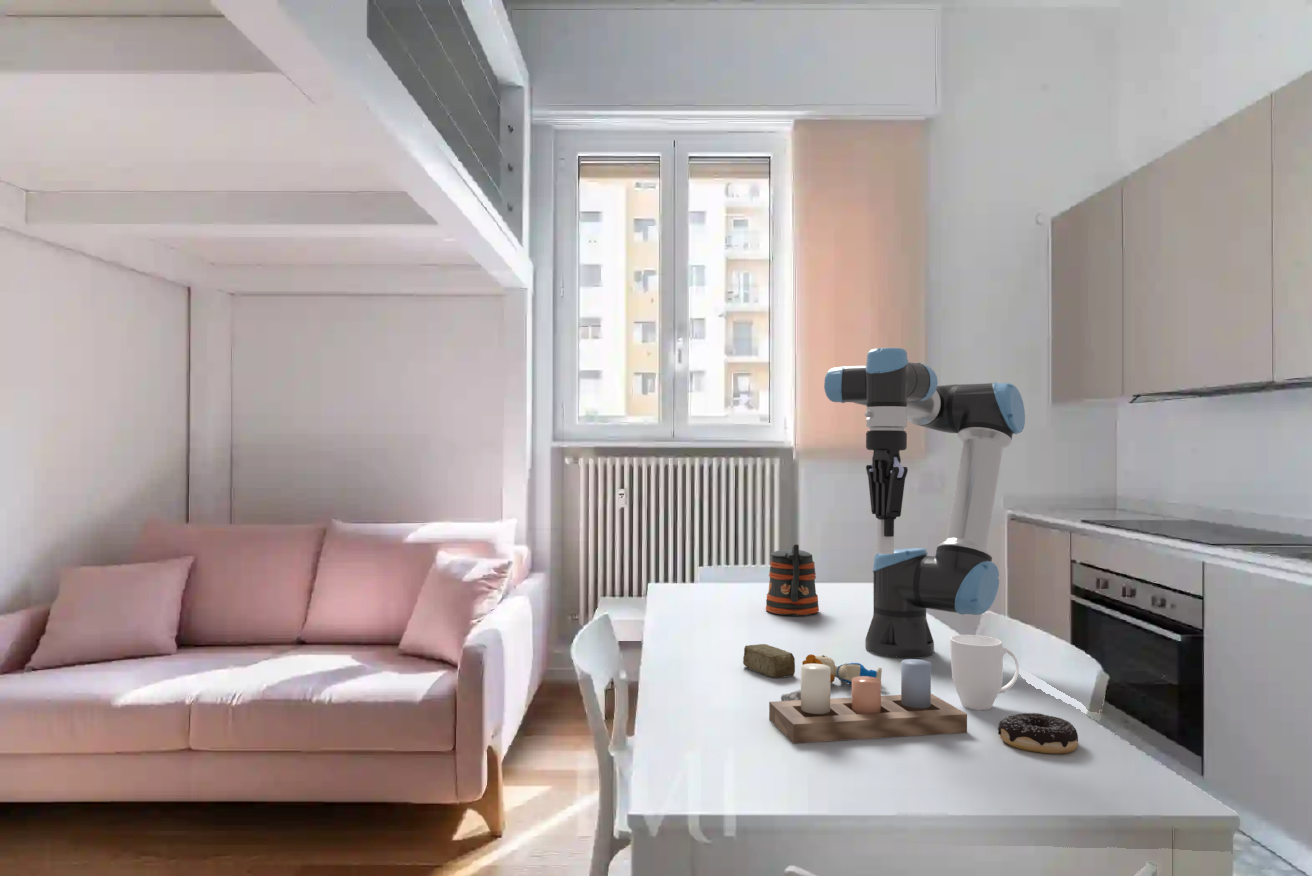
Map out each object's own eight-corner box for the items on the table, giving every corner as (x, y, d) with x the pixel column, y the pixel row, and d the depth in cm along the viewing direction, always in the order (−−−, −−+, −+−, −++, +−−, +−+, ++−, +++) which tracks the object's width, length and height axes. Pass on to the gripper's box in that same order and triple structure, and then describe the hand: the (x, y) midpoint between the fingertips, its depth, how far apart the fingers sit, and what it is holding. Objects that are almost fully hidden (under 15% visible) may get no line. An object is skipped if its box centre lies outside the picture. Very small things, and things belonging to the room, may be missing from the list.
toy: (884, 659, 166) (804, 647, 168) (882, 692, 164) (801, 679, 166) (877, 667, 177) (802, 655, 179) (875, 698, 175) (799, 686, 177)
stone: (762, 714, 154) (762, 691, 154) (794, 696, 164) (794, 674, 164) (795, 722, 150) (795, 698, 150) (826, 703, 160) (826, 680, 160)
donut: (1087, 759, 133) (1087, 733, 133) (1005, 754, 135) (1005, 728, 135) (1066, 735, 144) (1067, 711, 144) (990, 730, 146) (991, 706, 146)
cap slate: (921, 699, 151) (922, 658, 152) (936, 707, 147) (936, 665, 147) (896, 700, 151) (896, 659, 151) (909, 708, 146) (909, 666, 146)
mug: (958, 712, 154) (958, 643, 155) (944, 699, 163) (944, 634, 164) (1026, 713, 154) (1025, 644, 154) (1009, 700, 163) (1008, 635, 163)
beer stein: (828, 620, 233) (828, 545, 233) (773, 620, 233) (773, 545, 233) (812, 606, 252) (813, 537, 252) (762, 606, 251) (762, 537, 252)
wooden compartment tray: (930, 710, 156) (930, 693, 156) (967, 732, 144) (967, 714, 144) (769, 719, 150) (769, 701, 150) (793, 743, 138) (793, 724, 138)
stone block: (774, 680, 175) (774, 655, 175) (740, 668, 185) (740, 644, 185) (797, 677, 178) (797, 652, 178) (763, 664, 188) (762, 641, 188)
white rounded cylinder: (823, 704, 148) (823, 663, 148) (834, 713, 143) (835, 670, 143) (796, 705, 147) (796, 664, 147) (806, 714, 142) (807, 671, 142)
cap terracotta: (873, 716, 150) (873, 675, 150) (885, 725, 145) (886, 683, 145) (846, 718, 149) (847, 676, 149) (858, 727, 144) (858, 684, 144)
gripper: (853, 429, 173) (853, 549, 173) (883, 429, 160) (882, 558, 160) (889, 430, 174) (888, 548, 174) (921, 429, 161) (920, 557, 161)
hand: (885, 553), depth 167 cm, fingers closed
